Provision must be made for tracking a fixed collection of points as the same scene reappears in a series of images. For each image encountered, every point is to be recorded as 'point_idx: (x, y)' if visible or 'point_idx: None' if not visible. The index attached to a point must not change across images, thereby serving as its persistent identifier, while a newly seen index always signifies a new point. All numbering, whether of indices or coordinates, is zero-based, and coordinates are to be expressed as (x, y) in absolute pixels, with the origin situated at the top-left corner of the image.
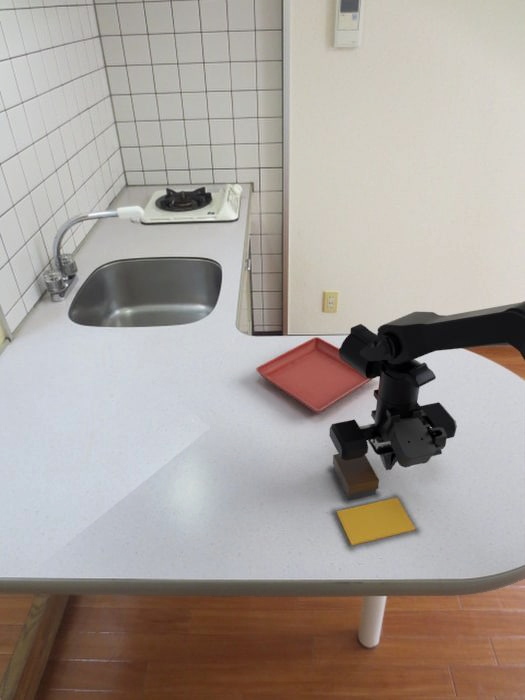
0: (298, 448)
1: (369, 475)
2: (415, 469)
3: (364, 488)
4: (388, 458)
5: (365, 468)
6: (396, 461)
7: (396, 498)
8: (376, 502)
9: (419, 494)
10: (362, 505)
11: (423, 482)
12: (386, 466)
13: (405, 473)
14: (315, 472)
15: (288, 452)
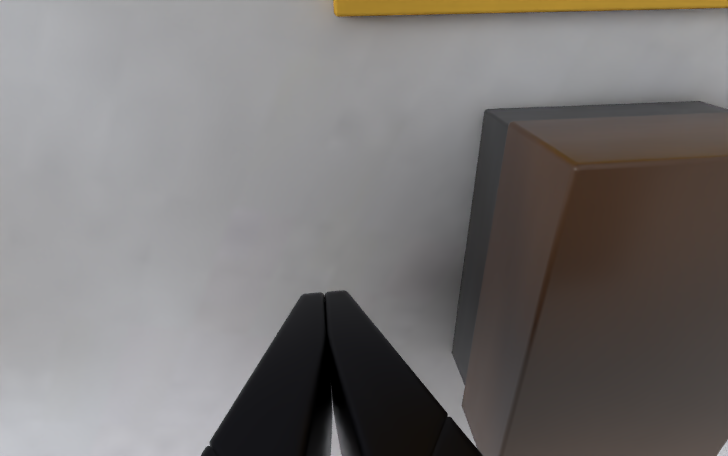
0: None
1: (624, 249)
2: (77, 273)
3: (679, 129)
4: (407, 446)
5: (598, 330)
6: (260, 373)
7: (346, 3)
8: (543, 7)
9: (92, 12)
10: (670, 7)
11: (25, 142)
12: (370, 325)
13: (169, 252)
14: None
15: None
